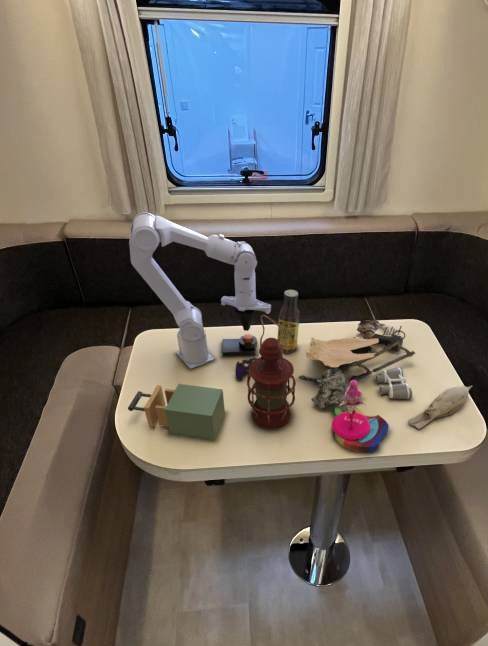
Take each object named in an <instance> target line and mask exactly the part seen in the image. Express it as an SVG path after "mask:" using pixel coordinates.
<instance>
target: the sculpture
mask: <svg viewBox="0 0 488 646" xmlns="http://www.w3.org/2000/svg"><path fill="white" fill-rule="evenodd" d="M472 387H473V385H470V386H465V385H462V386H453V387H449V388H447V389H445V390H444V391H442V392H441V393H440V394H439V395H438V396H437V397H436V398H434V399H433V401H432V402H431V403H430V404H429V406H428V407H427V409H424V411H422V412H421V413H419V414H418V415H416V416H414V417H412V418H410V419H409V420H408V421H407V422H408V424H409V425H410V426H414V427H416V428H417V429H420V430H421V429H423V428H424V427H425V426H426V425H428V424H429V423H430V422H431V421H433V420H434V419H438V418H443V417H447V416H452V415H453V414H454V412H456V411H458V410H459V409H460V408H462V407H463V406H464V405H465V402H466V401H467V398H468V396H469V394H470V393H469V391H470V390H471V389H472Z"/></svg>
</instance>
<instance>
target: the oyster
mask: <svg viewBox="0 0 488 646" xmlns="http://www.w3.org/2000/svg"><path fill="white" fill-rule="evenodd" d="M379 326H380V327H385V326H386V327H387V324H385V323H380V322H379V320H377V319H375V318H374V319H373V318H372V319H371V318H370V319H368V320H366V319H361V320H360V321H359V323H358V324H357V328H356V331H357V332H358V333H359V334H360V335H362V336H363V339H366V337H367V339H372V338H373V335H374V334H376V332H377V331H378V330H379V329H380V327H379Z"/></svg>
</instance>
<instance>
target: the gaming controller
mask: <svg viewBox="0 0 488 646" xmlns="http://www.w3.org/2000/svg"><path fill="white" fill-rule="evenodd" d="M257 358H258V357H251V358H247V359H240V360H237V362H236V364H235V368H234V369H235V372H234V373H235V378H236V379H237V380H238V381H242V379H243V377H244V374H245V371H249V366H250V365H251V363H252V362H253V361H254V360H256V359H257Z"/></svg>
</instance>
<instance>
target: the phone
mask: <svg viewBox="0 0 488 646" xmlns="http://www.w3.org/2000/svg"><path fill="white" fill-rule="evenodd" d="M352 338H357V337H355V336H353V337H352ZM372 350H373V347H372V346H371V345H369V346H366V347H361V348H358V349H354V350H350V351H351V352H352V353H353V354H354V353H355V354H366V353H372ZM349 364H350V365H352V364H355V362H352V363H349ZM348 367H350V366H349V365H348V364H342V365H340V366H339V367H333V369H334V368H338V369H340V370H341V371H343V370H344V369H346V368H348Z"/></svg>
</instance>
